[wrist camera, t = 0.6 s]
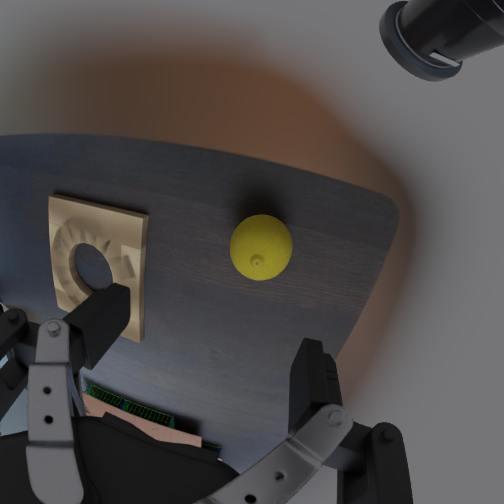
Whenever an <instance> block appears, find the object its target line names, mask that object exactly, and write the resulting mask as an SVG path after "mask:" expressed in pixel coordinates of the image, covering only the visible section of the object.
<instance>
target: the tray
mask: <svg viewBox="0 0 504 504" xmlns="http://www.w3.org/2000/svg"><path fill="white" fill-rule="evenodd" d="M148 221H149V215H145V214H141V213H137V212H132V211H128V210H124V209H120V208H115V207H111V206H106V205H102V204H98V203H93V202H89V201H84V200H80V199H76V198H71V197H67V196H62V195H58V194H55V195H51V196H49V234H50V249H51V260H52V270H53V278H54V285H55V291H56V297H57V303H58V307H59V308H61V309H63V310H65V311H67V312H69V313H70V312H71V311H72V310H73V309H75V308H76V307H77V306H78V305H79V304H81V303H82V302H83V301H84V300H85V299H87V297H89V296H90V295H91V294H92V293H94V291H92V290H91V289H90V288H89V287H88V286H86V285H85V284H84V282H83V281H82V279H81V278H80V276H79V274H78V271H77V269H76V266H75V252H76V249H77V246H78V245H79V244H80V243H83V242H84V243H87V244H91V245H93V246H94V247H96V248H97V249H98V250H99V251H100V252H102V254H103V255H104V257H105V258H106V260H107V261H108V263H109V266H110V269H111V272H112V275H113V283H118V284H121V285H124V286H126V287H129V288H130V303H131V316H130V321H129V323H128V325H127V327H126V328H125V329H124V331H123V332H122V333H121V334H120V336H122V337H125V338H127V339H130V340H133V341H135V342H138V343H140V342H141V341H142V340H143V338H144V281H145V260H146V244H147V232H148Z"/></svg>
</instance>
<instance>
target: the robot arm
mask: <svg viewBox="0 0 504 504" xmlns="http://www.w3.org/2000/svg"><path fill="white" fill-rule="evenodd" d="M394 25H395V30H396V33H397V35H398V37H399V39H400V41H401V42H402V44H403V45H404V46H405V48H406V49H407V50H408V51H409V52H410V53H411V54H412V55H413V56H414V57H415V58H417V59H418V60H419V61H421V62H422V63H424V64H426V65H428V66H430V67H433V68H437V69H445V68H448V67H450V66H454V67H456V66H458V65H460V64H458V62H460V61H463V60H465V59H467V58H470V57H472V56H475V55H477V54H480V53H482V52H484V51H487V50H490V49H493V48H495V47H498V46H501V45H504V0H409V1H408V3H407V4H406V5H405V6H404V7H403V8H402V9H400V10H399V12H398V13H397V14H396V16H395V20H394ZM130 316H131V303H130V288H129V287H126V286H124V285H121V284H118V283H113V284H111V285H110V286H109V287H108V288H107V289H106V290H104V289H101V290H99V291H96V292H94V293H92V294H91V295H90V296H89V297H87V299H85V300H84V301H83V302H82V303H81V304H79V305H78V306H77V307H76V308H75V309H73V310H72V311H71V312H70V313H69V314H68V315H67V316H65V317H64V318H63V319H62V320H61V319H57V318H53V319H48V320H46V321H44V322H43V323H42V324H37V323H33V322H29V321H28V319H27V316H26V313H25V312H24V311H23V310H21V309H10V310H7V311H6V312H4V313H3V314H2V315H1V316H0V361H1V359H2V358H3V357H4V356H5V355H6V354H7V353H8V352H9V351H10V350H11V351H12V353H13V356H12V357H11V358H10V359H9V360H8V361H7V362H6V363H5V364H4V366H3V367H2V368H1V369H0V421H1V420H2V418H3V417H4V415H5V414H6V413H7V411H8V410H9V408H10V407H11V406H12V404H13V403H14V402H15V400H16V399H17V398H18V396H19V395H20V394H21V392H22V391H23V389H24V388H25V387H26V386H27V384H28V396H27V397H28V398H27V401H28V402H27V414H28V430H27V431H23V432H18V433H14V434H9V435H4V436H1V433H0V504H285V503H287V502H288V501H289V500H290V499H291V498H292V497H293V496H294V495H295V494H296V493H297V492H298V491H299V490H300V489H301V488H302V487H303V486H304V485H305V484H306V483H307V482H308V481H309V480H310V479H311V478H312V477H313V476H314V474H315V473H316V472H317V471H318V470H319V469H320V468H321V467H322V465H325V466H328V467H331V468H334V469H337V472H338V473H337V504H413V498H412V489H411V482H410V475H409V469H408V463H407V458H406V453H405V447H404V443H403V437H402V434H401V432H400V430H399V429H398V428H397V427H396V426H394V425H393V424H391V423H387V422H383V423H378V424H377V425H376V426H374V427H373V428H370V427H367V426H364V425H361V424H358V423H356V422H354V421H353V418H352V415H351V414H350V413H349V412H348V410H346V409H345V408H344V407H343V405H342V398H341V392H340V386H339V381H338V374H337V368H336V363H335V361H334V360H333V358H332V357H331V355H330V354H326V353H323V346H322V342H321V341H318V340H313V339H309V338H304V339H303V341H302V343H301V345H300V348H299V350H298V352H297V354H296V357H295V359H294V361H293V363H292V366H291V371H290V391H289V423H288V434H293V436H291V437H290V438H287V439H285V440H284V441H283V442H281V443H280V444H279V445H278V446H277V447H275V448H274V449H273V450H272V451H271V452H269V453H268V454H267V455H266V456H264V457H263V458H262V459H261V460H259V461H258V462H257V463H255V464H254V465H253V466H251V467H250V468H249V469H247V470H246V471H245V472H243V473H242V474H241V475H240V474H239V473H238V472H237V471H236V470H234V469H233V468H232V467H230V466H229V465H227V464H226V463H224V462H222V461H220V460H218V455H219V452H216V451H212V450H208V449H204V448H201V447H197V446H194V445H190V444H182V443H173V442H165V441H159V440H156V439H154V438H152V437H151V436H149V435H148V434H146V433H145V432H143V431H142V430H140V429H139V428H138V427H136V426H135V425H133V424H132V423H130V422H128V421H126V420H123V419H121V418H119V417H117V416H115V415H113V414H111V413H109V412H107V411H106V412H105V413H104V415H103V417H97V416H87V415H86V411H85V407H84V401H83V394H82V385H81V376H80V371H79V370H80V369H81V368H82V367H83V366H84V367H85V368H87V369H89V370H92V369H93V368H94V366H95V365H96V364H97V363H98V361H99V360H100V359H101V358H102V356H103V355H104V354H105V353H106V351H107V350H108V349H109V348H110V346H111V345H112V344H113V343H114V342H115V340H116V339H117V338H118V337H119V335H120V334H121V333H122V332H123V331H124V329H125V328H126V327H127V325H128V323H129V321H130Z"/></svg>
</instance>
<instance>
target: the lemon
mask: <svg viewBox="0 0 504 504" xmlns="http://www.w3.org/2000/svg"><path fill="white" fill-rule="evenodd" d="M230 254H231V259H232V261H233V264H234V266H235V267H236V268H237V270H238V271H239V272H240V273H242V274H243V275H244V276H246V277H248V278H250V279H254V280H266V279H270V278H273V277H275V276H277V275H278V274H279V273H280V272H281V271H283V270H284V268H285V267H286V265H287V264H288V262H289V260H290V257H291V254H292V239H291V235H290V233H289V231H288V229H287V227H286V226H285V225H284V224H283V223H282V222H281V221H280V220H278V219H277V218H275V217H272V216H269V215H262V214H260V215H254V216H251V217H249V218H246V219H245V220H244V221H242V222H241V223H240V224H239V225H238V226H237V228H236V229H235V230H234V232H233V235H232V237H231V241H230Z"/></svg>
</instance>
